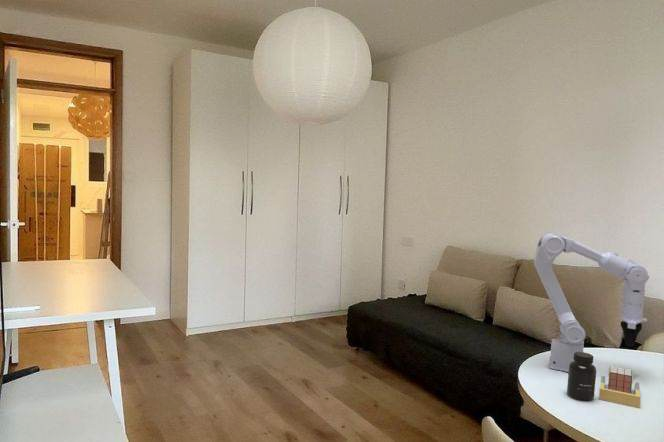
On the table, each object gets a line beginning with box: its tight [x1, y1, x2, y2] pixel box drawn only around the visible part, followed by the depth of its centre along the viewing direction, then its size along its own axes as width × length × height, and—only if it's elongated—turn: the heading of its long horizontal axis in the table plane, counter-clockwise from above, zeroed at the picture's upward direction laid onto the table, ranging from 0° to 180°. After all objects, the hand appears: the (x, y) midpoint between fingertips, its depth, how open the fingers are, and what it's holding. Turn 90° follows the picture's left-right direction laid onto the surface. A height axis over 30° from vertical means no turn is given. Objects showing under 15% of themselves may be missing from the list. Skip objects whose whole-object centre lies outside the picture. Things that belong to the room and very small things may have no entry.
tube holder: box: [598, 375, 641, 409], centre depth 139 cm, size 10×13×3 cm
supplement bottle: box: [566, 351, 597, 402], centre depth 137 cm, size 7×7×12 cm
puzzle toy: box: [607, 366, 633, 394], centre depth 143 cm, size 6×6×6 cm
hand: (629, 346), depth 153 cm, fingers closed
